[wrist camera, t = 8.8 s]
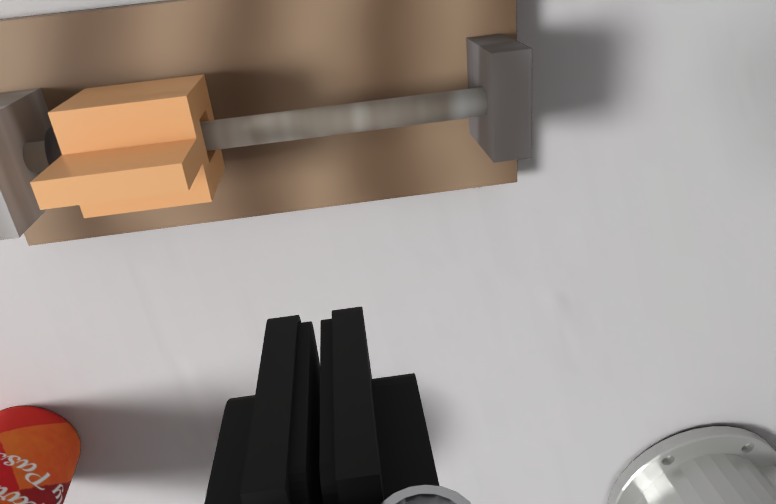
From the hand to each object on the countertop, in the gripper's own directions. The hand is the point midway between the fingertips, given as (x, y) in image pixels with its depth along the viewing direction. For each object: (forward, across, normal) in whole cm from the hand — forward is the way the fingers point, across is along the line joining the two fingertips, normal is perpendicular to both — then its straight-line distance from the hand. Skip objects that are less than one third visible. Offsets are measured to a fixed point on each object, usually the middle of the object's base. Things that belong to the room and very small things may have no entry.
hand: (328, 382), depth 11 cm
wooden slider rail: (+21, +3, -1) cm, 22 cm away
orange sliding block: (+19, +7, -1) cm, 20 cm away
